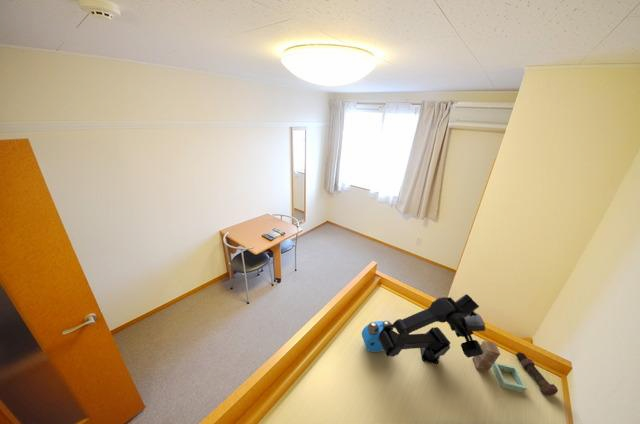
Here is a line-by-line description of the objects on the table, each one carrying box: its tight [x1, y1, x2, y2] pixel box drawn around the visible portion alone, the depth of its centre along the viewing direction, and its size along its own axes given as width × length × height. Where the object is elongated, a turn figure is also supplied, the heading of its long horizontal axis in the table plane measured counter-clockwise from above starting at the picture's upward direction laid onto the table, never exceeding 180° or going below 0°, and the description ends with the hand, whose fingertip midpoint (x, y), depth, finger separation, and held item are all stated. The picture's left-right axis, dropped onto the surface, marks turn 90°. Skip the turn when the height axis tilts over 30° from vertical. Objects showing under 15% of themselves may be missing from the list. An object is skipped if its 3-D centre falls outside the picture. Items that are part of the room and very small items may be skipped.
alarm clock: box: [361, 320, 394, 353], centre depth 98 cm, size 13×6×15 cm, turn 100°
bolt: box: [515, 351, 559, 397], centre depth 93 cm, size 6×5×15 cm
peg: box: [471, 340, 501, 373], centre depth 93 cm, size 4×4×13 cm
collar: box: [491, 361, 528, 393], centre depth 91 cm, size 8×8×3 cm
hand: (474, 343), depth 92 cm, fingers open, 9 cm apart
